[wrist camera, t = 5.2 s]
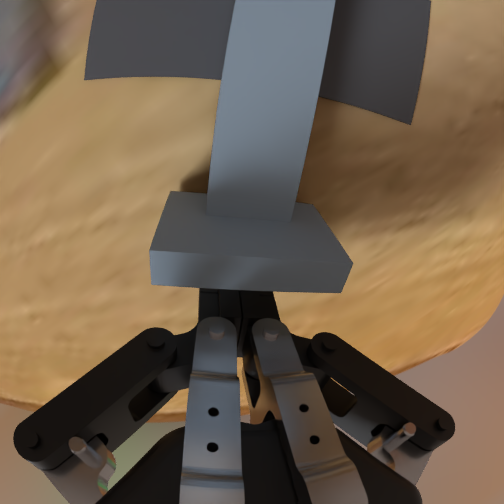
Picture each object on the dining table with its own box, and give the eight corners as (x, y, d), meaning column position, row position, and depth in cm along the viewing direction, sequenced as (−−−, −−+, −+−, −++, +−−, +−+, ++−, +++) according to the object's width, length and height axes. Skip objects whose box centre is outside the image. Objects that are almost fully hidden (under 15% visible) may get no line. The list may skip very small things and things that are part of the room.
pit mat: (85, 79, 8) (84, 80, 8) (116, -60, 5) (115, -61, 5) (408, 124, 11) (410, 125, 11) (428, 1, 7) (430, 1, 7)
